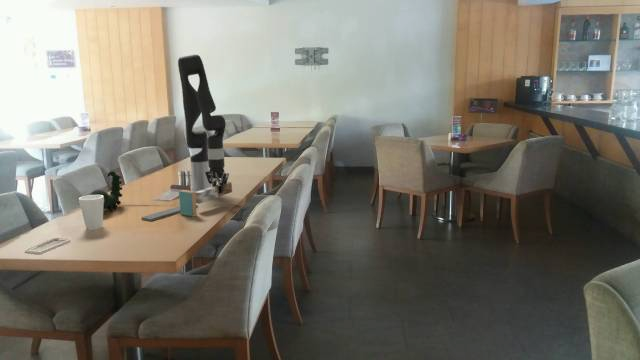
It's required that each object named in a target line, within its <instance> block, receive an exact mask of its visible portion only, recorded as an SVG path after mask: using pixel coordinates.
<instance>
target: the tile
mask: <svg viewBox="0 0 640 360" xmlns="http://www.w3.org/2000/svg"><path fill="white" fill-rule="evenodd" d="M178 196H179V199H178V200H179V206H180V215H185V216H190V217H193V216H194V217H196V216H195V215H198V214H197V213H198V212H197V208H196V205H197V203H196V196H195V192H194V191H193V190H186V189H181V190H179V191H178Z"/></svg>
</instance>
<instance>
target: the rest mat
mask: <svg viewBox="0 0 640 360" xmlns="http://www.w3.org/2000/svg"><path fill="white" fill-rule="evenodd" d="M198 207H199V206H198V204H196V209H197V208H198ZM179 213H180V205H179V206H175V207H172V208H169V209H165V210H163V211H158V212H156V213H155V212H154V213H151V214H149V215H145V216H141V220H143V221H147V222H153V220H154V221H156V219H157V220H160V219H163V218H166V217H170V216H173V215H176V214H179ZM180 214H181V213H180Z"/></svg>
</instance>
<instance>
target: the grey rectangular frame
mask: <svg viewBox="0 0 640 360" xmlns="http://www.w3.org/2000/svg"><path fill="white" fill-rule="evenodd" d="M60 240H65V241H62V242H60V243H58V244H54V245H52V246H50V247H48V248H47V247H46V248H45V249H42V250H39V251H38V250H32V249H33V248H38V247H42V246H44V245H47V244H49V243H52V242H54V241H60ZM70 242H71V238H63V237H62V238H61V237H54V238H51V239H49V240H46V241H44V242H42V243H39V244H36V245H33V246H30V247H28V248H26V249H24V253H28V254H36V255H37V254H38V255H42V254H44V253H46V252H49V251H50V250H51V251H52V250H53V249H56V248H59V247H61V246H64V245H65V244H68V243H70Z"/></svg>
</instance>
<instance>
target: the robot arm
mask: <svg viewBox="0 0 640 360" xmlns="http://www.w3.org/2000/svg"><path fill="white" fill-rule="evenodd" d="M177 67H178V73H179V77H180V78H179V79H180V84H181V94H182V107H183V113H184V120H185V141H186V146H187V148H189V149H193V150H194V149H201V150H200V151H199V152H197V153H194V154H192V155H191V156H190V171H191V174H190V175H191V188H192V191H194V192H197V191H200V190H203V189H206V188H209V187H212V186H215V185H219V186H218V187H219V194H221V193H223V185H225V184H227V182H228V179H229V175H230V173H228V172H225V169H224V168H225V151H224V140H223V139H224V135H225V130H226V127H227V125H226V119H225V118H224V116H222V115H220V114H215V115H212V114H211V113H215V111H216V110H217V108H216V107H217V106H216V103H215V101H214V99H213V95H212V93H211V90H210V85H209V82H208V77H207V74H206V70H205V66H204V63H203V60H202V58H201V57H200V55H199V54H189V55H184V56H181V57H179V58H178V60H177ZM195 75H197V76H198V80H199V83H198V87H197V90H196V88H194V86H193V85H192V84H191V83H190V79H189V76H195ZM200 116H201V119H202V126H203V128H204V130H193V129H194V125H195V124H196V122H197V120H199V117H200ZM207 131H208V132H214V133H213V134H212V135H209V136H208V133H207Z"/></svg>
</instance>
